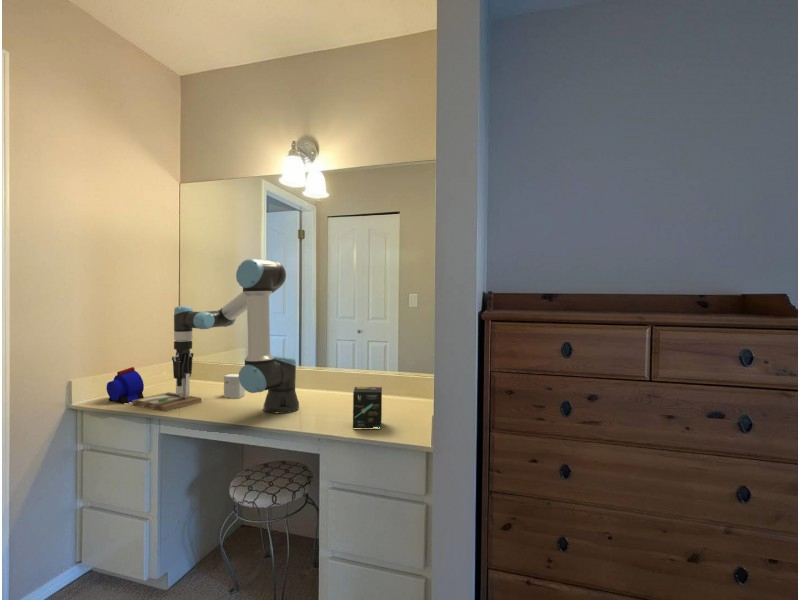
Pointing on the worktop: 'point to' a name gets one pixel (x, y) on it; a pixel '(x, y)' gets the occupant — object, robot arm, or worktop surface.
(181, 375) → the robot arm
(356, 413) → the tampon box
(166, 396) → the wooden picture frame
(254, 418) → the worktop surface
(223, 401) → the worktop surface
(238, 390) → the small box
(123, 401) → the blue toy motor
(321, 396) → the worktop surface
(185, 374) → the upright grey block
